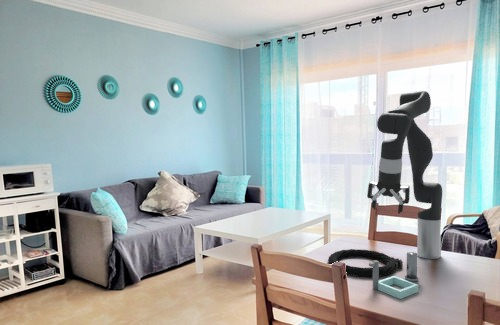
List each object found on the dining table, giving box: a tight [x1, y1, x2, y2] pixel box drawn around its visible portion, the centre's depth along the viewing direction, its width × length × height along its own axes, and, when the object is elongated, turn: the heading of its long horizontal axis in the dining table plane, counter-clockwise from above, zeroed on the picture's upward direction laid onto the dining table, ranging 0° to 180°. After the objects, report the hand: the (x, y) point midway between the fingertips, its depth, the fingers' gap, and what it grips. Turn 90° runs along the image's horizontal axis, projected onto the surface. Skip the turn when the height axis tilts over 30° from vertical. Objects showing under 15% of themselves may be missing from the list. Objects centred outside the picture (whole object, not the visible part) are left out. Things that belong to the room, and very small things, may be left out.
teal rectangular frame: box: [368, 259, 419, 300], centre depth 127 cm, size 13×11×10 cm
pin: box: [404, 251, 419, 283], centre depth 136 cm, size 5×5×10 cm
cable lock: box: [327, 248, 404, 278], centre depth 152 cm, size 28×4×30 cm
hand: (386, 210), depth 133 cm, fingers open, 8 cm apart
